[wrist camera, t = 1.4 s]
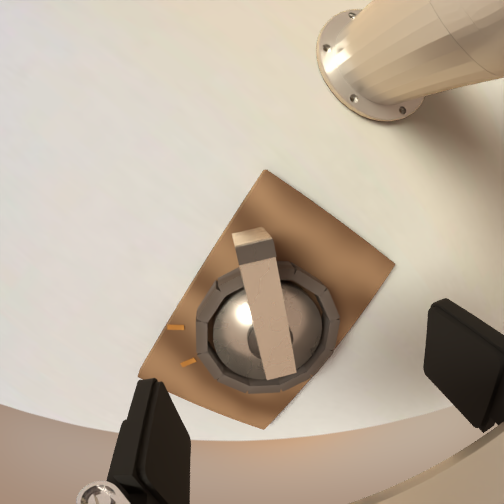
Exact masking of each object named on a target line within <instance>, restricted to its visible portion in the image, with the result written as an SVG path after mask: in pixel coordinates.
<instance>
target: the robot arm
mask: <svg viewBox="0 0 504 504" xmlns="http://www.w3.org/2000/svg"><path fill="white" fill-rule="evenodd" d="M323 49H324V50H326V51H324V50H323ZM316 54H317V61H318V65H319V69H320V71H321V74H322V76H323V78H324V80H325V82H326V84H327V85H328V87H329V88H330V90H331V91H332V92H333V93H334V95H335V96H336V97H337V98H338V99H339V100H340V101H341V102H342V103H343V104H345V105H346V106H347V107H348V108H349V109H351V110H353V111H354V112H356V113H357V114H359V115H361V116H364V117H366V118H369V119H372V120H377V121H394V120H399V119H403V118H406V117H408V116H409V115H411V114H412V113H414V112H415V111H416V110H417V109H418V108H419V107H420V105H421V103H422V102H423V100H424V98H425V96H427V95H431V94H435V93H439V92H442V91H446V90H450V89H455V88H459V87H463V86H467V85H472V84H476V83H481V82H486V81H490V80H495V79H500V78H504V0H373V1H372V2H371V3H369V4H368V5H367V6H366V7H365V8H364V9H363V10H362V9H352V10H347V11H343V12H340V13H339V14H337V15H335V16H333V17H332V18H331V19H330V20H329V21H328V22H327V23H326V24H325V25H324V27H323V28H322V30H321V32H320V34H319V36H318V40H317V46H316ZM350 98H351V99H352V101H351V100H350ZM423 368H424V372H425V375H426V376H427V377H428V378H429V379H430V380H431V381H432V382H433V383H434V384H435V385H436V386H437V387H438V389H439V390H440V391H441V392H442V393H443V394H444V395H445V396H446V397H447V398H448V399H449V400H450V401H451V402H452V403H453V405H454V406H455V407H456V408H457V409H458V410H459V411H460V412H461V413H462V414H463V415H464V416H465V418H466V419H467V420H468V421H469V422H470V423H471V424H472V425H473V426H474V427H475V428H479V429H480V430H481V431H482V432H483V433H484V432H485V431H487V430H488V429H490V428H491V427H492V426H494V424H495V422H496V423H497V424H498V426H497V427H496V428H494V429H493V430H491V431H490V432H489V433H487V434H486V435H484V436H483V437H481V438H480V439H478V440H477V441H475V442H474V443H472V444H471V445H469V446H468V447H466V448H464V449H463V450H461V451H460V452H458V453H456V454H455V455H453V456H451V457H449V458H448V459H446V460H444V461H442V462H441V463H439V464H437V465H435V466H433V467H432V468H430V469H428V470H426V471H424V472H422V473H420V474H418V475H416V476H414V477H412V478H410V479H408V480H406V481H404V482H401V483H399V484H397V485H395V486H393V487H390V488H388V489H386V490H383V491H381V492H379V493H376V494H373V495H371V496H368V497H366V498H363V499H360V500H358V501H355V502H352V503H349V504H504V335H503V334H501V333H500V332H498V331H497V330H495V329H494V328H492V327H491V326H489V325H488V324H486V323H485V322H483V321H482V320H480V319H479V318H477V317H475V316H474V315H472V314H471V313H469V312H468V311H466V310H465V309H463V308H461V307H460V306H458V305H457V304H455V303H454V302H452V301H450V300H449V299H447V298H445V299H442V300H439V301H437V302H434V303H433V304H432V305H431V308H430V309H429V311H428V322H427V336H426V348H425V357H424V367H423ZM190 453H191V441H190V437H189V434H188V432H187V430H186V428H185V426H184V424H183V422H182V420H181V418H180V416H179V414H178V412H177V410H176V408H175V406H174V404H173V402H172V400H171V398H170V396H169V393H168V391H167V389H166V387H165V385H164V383H163V382H162V381H160V382H158V380H157V379H156V378H151V379H144V380H139V381H138V383H137V386H136V389H135V393H134V396H133V400H132V403H131V406H130V410H129V413H128V417H127V420H124V421H123V423H122V425H121V428H120V432H119V435H118V439H117V443H116V446H115V450H114V454H113V458H112V461H111V465H110V469H109V473H108V477H107V481H97V482H93V483H90V484H88V485H87V486H85V487H84V488H83V489H82V490H81V491H80V492H79V494H78V496H77V500H76V504H190V503H189V502H190V500H189V499H190Z"/></svg>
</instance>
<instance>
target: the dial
mask: <svg viewBox="0 0 504 504" xmlns="http://www.w3.org/2000/svg"><path fill="white" fill-rule="evenodd" d="M232 237H233V242H234V246H235V250H236V255H237V259H238V263H239V268H240V272H241V277H242V281H243V285H244V287H242V288H240V289H238V290H236V291H234V292H232V293H230V294H228V295H227V296H226V297H225V298H224V300H223V301H222V302H221V304H220V305H219V307H218V309H217V311H216V314H215V317H214V321H213V342H214V346H215V350H216V352H217V354H218V356H219V358H220V359H221V361H222V362H223V363H224V364H225V365H226V366H227V367H228V368H229V369H231V370H232V371H233V372H235V373H237V374H239V375H242V376H244V377H248V378H252V379H267V380H270V379H274V378H278V377H282V376H286V375H290V374H294V373H297V372H296V370H297V369H298V368H299V367H301V366H302V365H303V364H304V363H306V362H307V361H308V359H309V358H310V357H311V356H312V355H313V353H314V352H315V350H316V348H317V346H318V344H319V341H320V338H321V333H322V321H321V316H320V313H319V310H318V309H317V307H316V305H315V304H314V302H313V301H312V300H311V298H310V297H309V296H308V294H307V293H306V292H305V291H304V290H303V289H302V288H300V287H299V286H297V285H296V284H294V283H292V282H289V281H286V280H280V277H279V272H278V267H277V262H276V257H277V256H276V251H275V246H274V241H273V239H272V237H271V236H270V235H269V234H268V232H267V231H266V230H265V229H264V228H263V227H259V228H255V229H251V230H246V231H242V232H237V233H233V234H232Z"/></svg>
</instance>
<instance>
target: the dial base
mask: <svg viewBox="0 0 504 504" xmlns="http://www.w3.org/2000/svg"><path fill="white" fill-rule="evenodd" d="M259 227H263V228H264V229H265V230H266V231H267V232H268V234H269V235H270V236H271V237H272V239H273V241H274V246H275V251H276V256H277V257H276V262H277V267H278V272H279V277H280V280H286V281H289V282H292V283H294V284H296V285H297V286H299V287H300V288H302V289H303V290H304V291H305V292H306V293H307V294H308V296H309V297H310V298H311V300H312V301H313V302H314V304H315V305H316V307H317V309H318V310H319V313H320V316H321V321H322V333H321V338H320V341H319V344H318V346H317V348H316V350H315V352H314V353H313V355H312V356H311V357H310V358H309V359H308V361H307V362H306V363H304V364H303V365H302V366H301V367H299V368H298V369H297V370H296V372H297V373H294V374H290V375H286V376H282V377H278V378H274V379H270V380H267V379H252V378H248V377H244V376H242V375H239V374H237V373H235V372H233V371H232V370H231V369H229V368H228V367H227V366H226V365H225V364H224V363H223V362H222V361H221V359H220V358H219V356H218V354H217V352H216V350H215V346H214V342H213V321H214V317H215V314H216V311H217V309H218V307H219V305H220V304H221V302H222V301H223V300H224V298H225V297H226V296H227V295H228V294H230V293H232V292H234V291H236V290H238V289H240V288H242V287H244V285H243V281H242V277H241V272H240V268H239V263H238V259H237V255H236V250H235V246H234V242H233V237H232V234H233V233H237V232H242V231H246V230H251V229H255V228H259ZM394 265H395V264H394V263H393V262H392V261H391V260H389V259H388V258H387V257H386V256H384V255H383V254H382V253H381V252H379V251H378V250H377V249H376V248H374V247H373V246H372V245H370V244H369V243H368V242H367V241H365V240H364V239H363V238H361V237H360V236H359V235H357V234H356V233H355V232H353V231H352V230H351V229H349V228H348V227H347V226H345V225H344V224H343V223H341V222H340V221H339V220H337V219H336V218H335V217H333V216H332V215H331V214H329V213H328V212H326V211H325V210H324V209H322V208H321V207H320V206H318V205H317V204H315V203H314V202H313V201H311V200H310V199H308V198H307V197H306V196H304V195H303V194H301V193H300V192H298V191H297V190H296V189H294V188H293V187H291V186H290V185H288V184H287V183H285V182H284V181H282V180H281V179H280V178H278V177H277V176H275V175H274V174H272V173H271V172H269V171H268V170H263V172H262V173H261V175H260V176H259V178H258V179H257V181H256V182H255V184H254V185H253V187H252V188H251V190H250V191H249V193H248V195H247V196H246V198H245V199H244V201H243V202H242V204H241V205H240V207H239V208H238V210H237V211H236V213H235V215H234V216H233V218H232V219H231V221H230V222H229V224H228V225H227V227H226V229H225V230H224V232H223V233H222V235H221V236H220V238H219V240H218V241H217V243H216V244H215V246H214V247H213V249H212V251H211V252H210V254H209V255H208V257H207V259H206V260H205V262H204V263H203V265H202V267H201V268H200V270H199V271H198V273H197V275H196V276H195V278H194V280H193V281H192V283H191V284H190V286H189V288H188V289H187V291H186V293H185V294H184V296H183V297H182V299H181V301H180V302H179V304H178V306H177V307H176V309H175V311H174V312H173V314H172V316H171V317H170V319H169V321H168V322H167V324H166V326H165V327H164V329H163V331H162V332H161V334H160V336H159V337H158V339H157V341H156V343H155V344H154V346H153V348H152V349H151V351H150V353H149V354H148V356H147V358H146V360H145V361H144V363H143V365H142V366H141V368H140V371H139V374H138V377H139V378H141V379H143V380H144V379H151V378H156V379H157V380H158V382H160V381H162V382H163V383H164V385H165V387H166V389H167V391H168V392H170V393H172V394H174V395H176V396H179V397H181V398H183V399H185V400H188V401H190V402H192V403H195V404H197V405H199V406H202V407H204V408H206V409H209V410H211V411H214V412H216V413H219V414H222V415H224V416H227V417H229V418H232V419H235V420H237V421H240V422H243V423H246V424H249V425H252V426H254V427H257V428H260V429H263V430H264V429H265V428H266V427H267V426H268V425H269V424H270V423H271V422H272V421H273V420H274V419H275V418H276V417H277V415H278V414H279V413H280V412H281V411H282V410H283V409H284V408H285V407H286V406H287V405H288V403H289V402H290V401H291V400H292V399H293V398H294V397H295V396H296V395H297V393H298V392H299V391H300V390H301V389H302V388H303V387H304V385H305V384H306V383H307V382H308V381H309V380H310V378H312V376H314V375H315V374H316V373H317V372H318V370H319V369H320V368H321V367H322V366H323V364H324V363H325V362H326V361H327V359H328V358H329V357H330V356H331V354H332V353H333V350H335V348H336V347H337V345H338V344H339V343H340V341H341V340H342V339H343V338H344V336H345V335H346V334H347V332H348V331H349V330H350V328H351V327H352V326H353V324H354V323H355V322H356V320H357V319H358V318H359V316H360V315H361V313H362V312H363V311H364V309H365V308H366V307H367V305H368V304H369V302H370V301H371V299H372V298H373V297H374V295H375V294H376V292H377V291H378V289H379V288H380V286H381V285H382V284H383V282H384V281H385V279H386V278H387V276H388V275H389V273H390V272H391V270H392V269H393V267H394Z"/></svg>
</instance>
